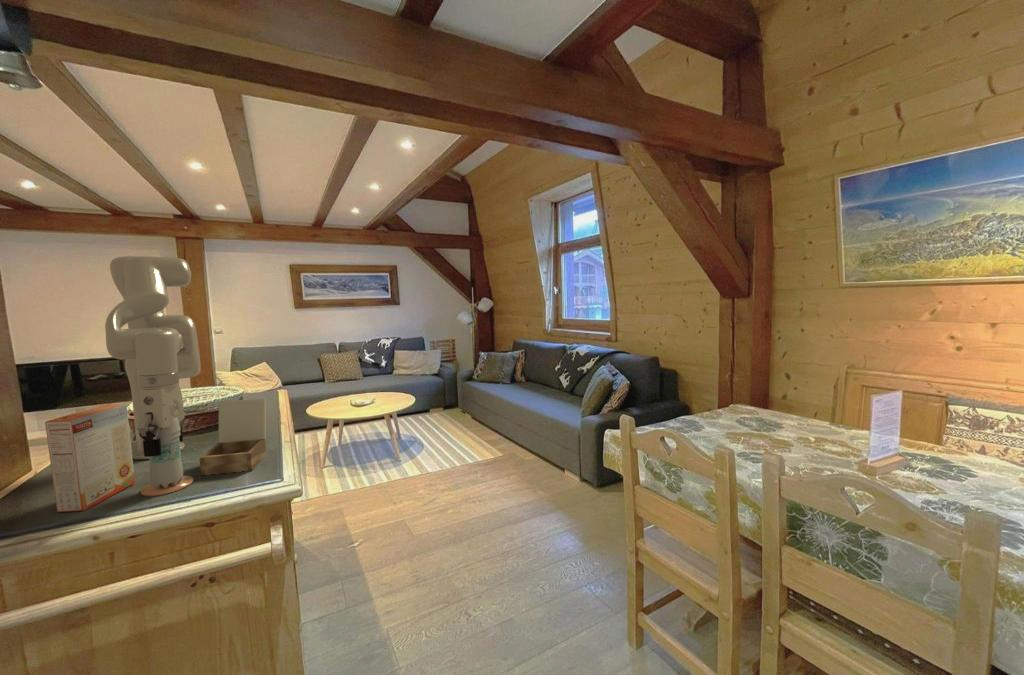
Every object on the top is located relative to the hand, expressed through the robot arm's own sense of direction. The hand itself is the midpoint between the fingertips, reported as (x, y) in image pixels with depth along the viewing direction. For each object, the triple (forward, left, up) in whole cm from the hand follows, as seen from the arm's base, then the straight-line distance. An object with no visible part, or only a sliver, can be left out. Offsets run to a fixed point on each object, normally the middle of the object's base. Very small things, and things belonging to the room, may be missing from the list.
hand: (164, 448), depth 100 cm
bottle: (0, 0, -9) cm, 9 cm away
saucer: (0, 0, -10) cm, 10 cm away
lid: (+11, +19, -10) cm, 24 cm away
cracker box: (-13, -2, -10) cm, 17 cm away
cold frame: (+11, +11, -10) cm, 18 cm away
